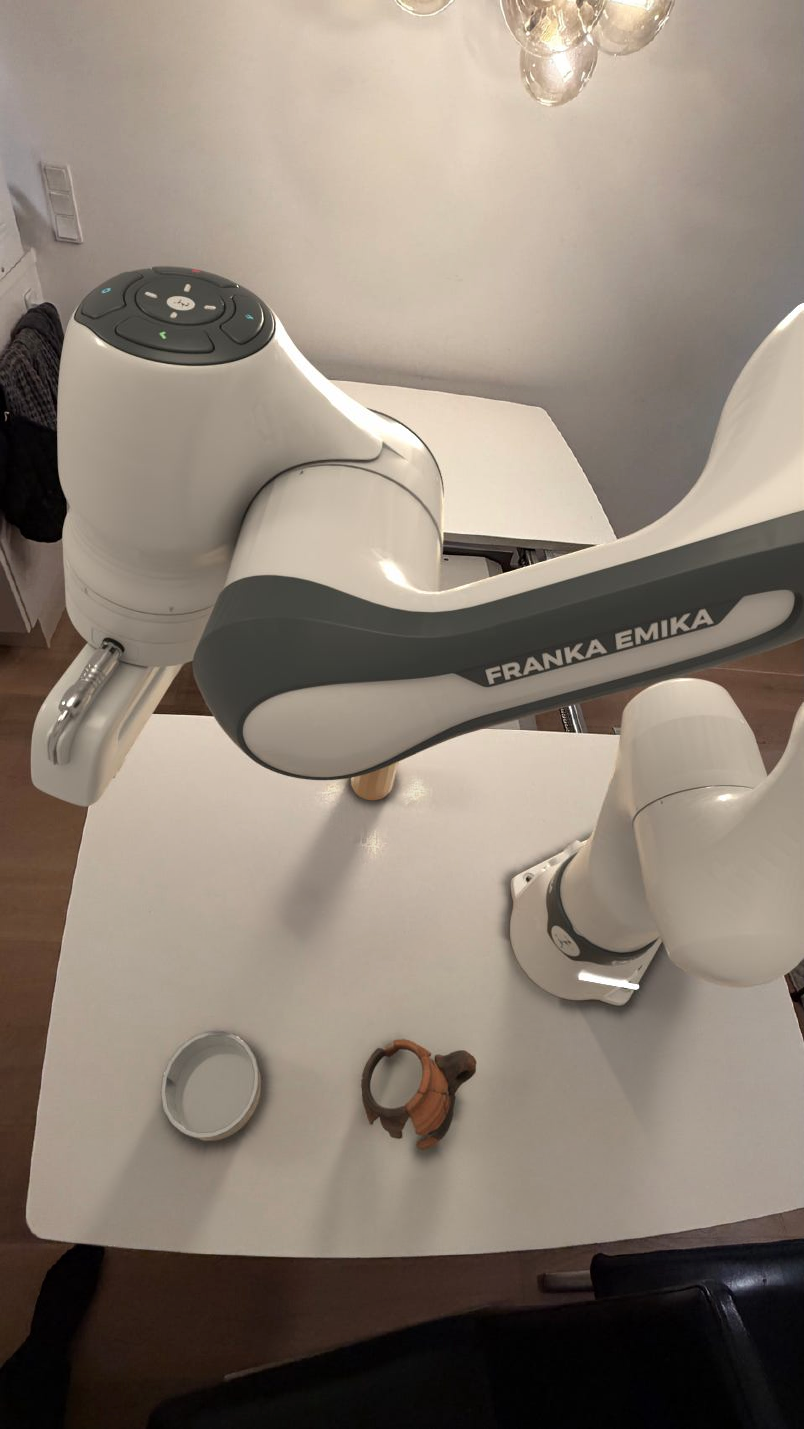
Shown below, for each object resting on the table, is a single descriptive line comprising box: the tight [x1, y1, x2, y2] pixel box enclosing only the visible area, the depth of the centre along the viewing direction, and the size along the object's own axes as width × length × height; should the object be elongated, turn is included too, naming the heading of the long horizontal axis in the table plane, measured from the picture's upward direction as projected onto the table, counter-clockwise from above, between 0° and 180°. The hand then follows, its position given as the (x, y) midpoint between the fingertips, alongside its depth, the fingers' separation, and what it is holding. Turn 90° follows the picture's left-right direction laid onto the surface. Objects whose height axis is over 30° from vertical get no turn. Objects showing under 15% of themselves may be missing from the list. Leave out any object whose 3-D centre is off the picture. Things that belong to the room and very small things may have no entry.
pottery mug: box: [360, 1038, 477, 1151], centre depth 68 cm, size 12×10×8 cm
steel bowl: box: [160, 1030, 262, 1142], centre depth 65 cm, size 9×9×6 cm
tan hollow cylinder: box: [350, 762, 399, 801], centre depth 87 cm, size 6×6×9 cm
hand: (140, 713), depth 48 cm, fingers open, 8 cm apart
